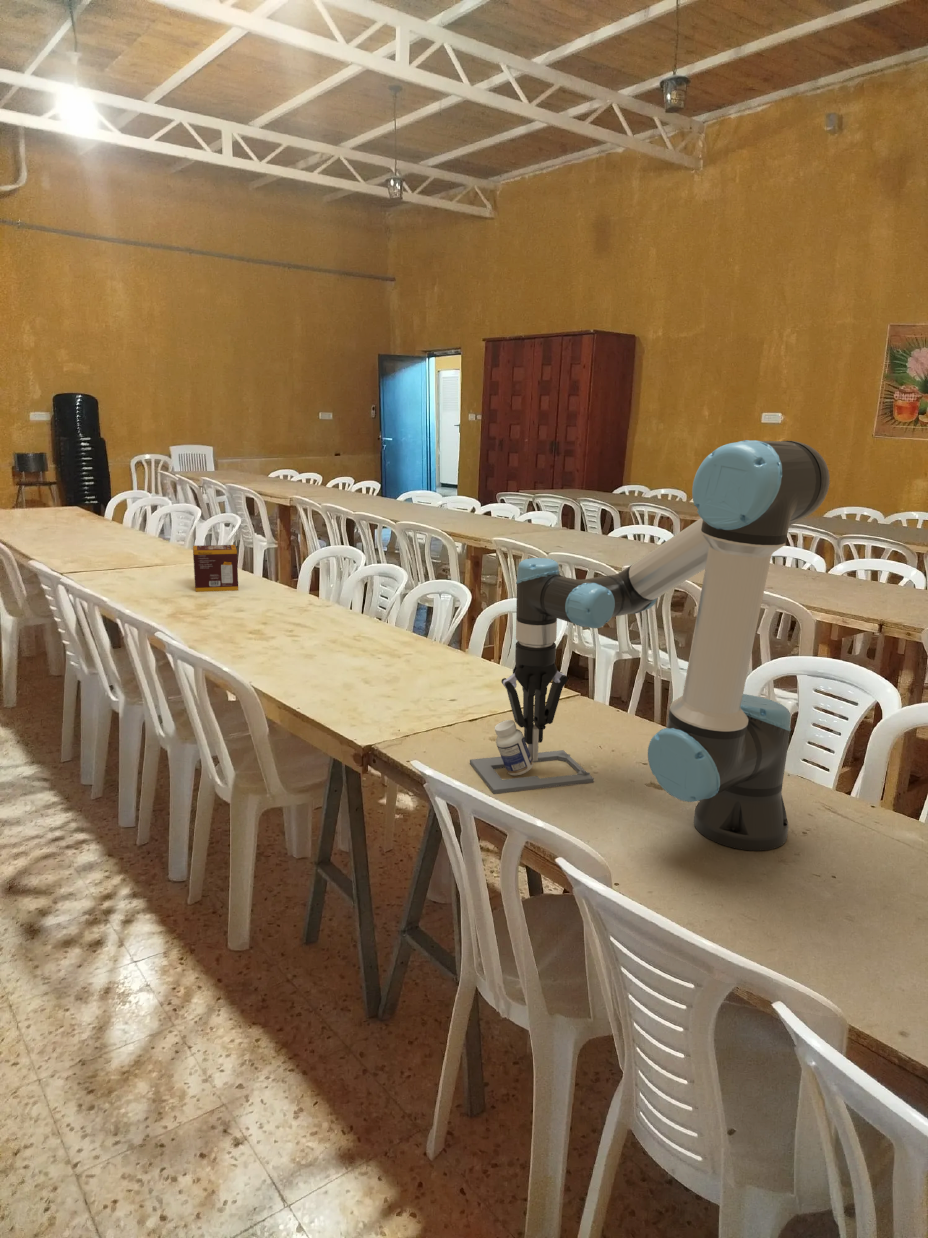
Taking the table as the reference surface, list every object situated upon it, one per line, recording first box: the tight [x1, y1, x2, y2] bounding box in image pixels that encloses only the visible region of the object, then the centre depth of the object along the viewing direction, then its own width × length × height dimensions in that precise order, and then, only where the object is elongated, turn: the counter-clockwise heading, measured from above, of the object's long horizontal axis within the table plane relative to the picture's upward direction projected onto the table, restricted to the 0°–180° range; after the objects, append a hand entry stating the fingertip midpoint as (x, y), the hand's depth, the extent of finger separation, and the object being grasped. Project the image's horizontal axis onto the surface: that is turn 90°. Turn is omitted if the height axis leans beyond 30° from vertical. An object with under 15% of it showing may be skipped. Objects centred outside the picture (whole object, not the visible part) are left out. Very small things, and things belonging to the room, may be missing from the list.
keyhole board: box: [469, 749, 595, 795], centre depth 163 cm, size 14×20×1 cm
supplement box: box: [192, 544, 239, 593], centre depth 314 cm, size 10×15×16 cm
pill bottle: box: [494, 719, 534, 776], centre depth 162 cm, size 5×5×10 cm
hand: (532, 757), depth 164 cm, fingers closed
